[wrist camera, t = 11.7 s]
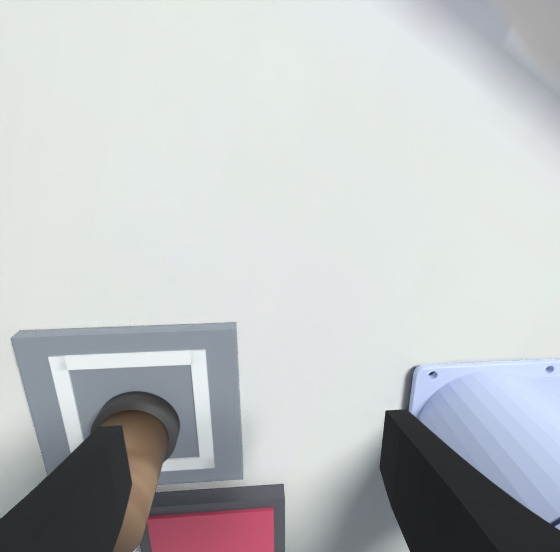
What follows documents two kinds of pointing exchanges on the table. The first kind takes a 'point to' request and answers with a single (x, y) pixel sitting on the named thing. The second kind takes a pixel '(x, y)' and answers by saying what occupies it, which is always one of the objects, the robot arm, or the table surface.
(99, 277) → the table surface
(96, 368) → the board
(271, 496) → the ink pad
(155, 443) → the stamp
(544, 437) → the robot arm
